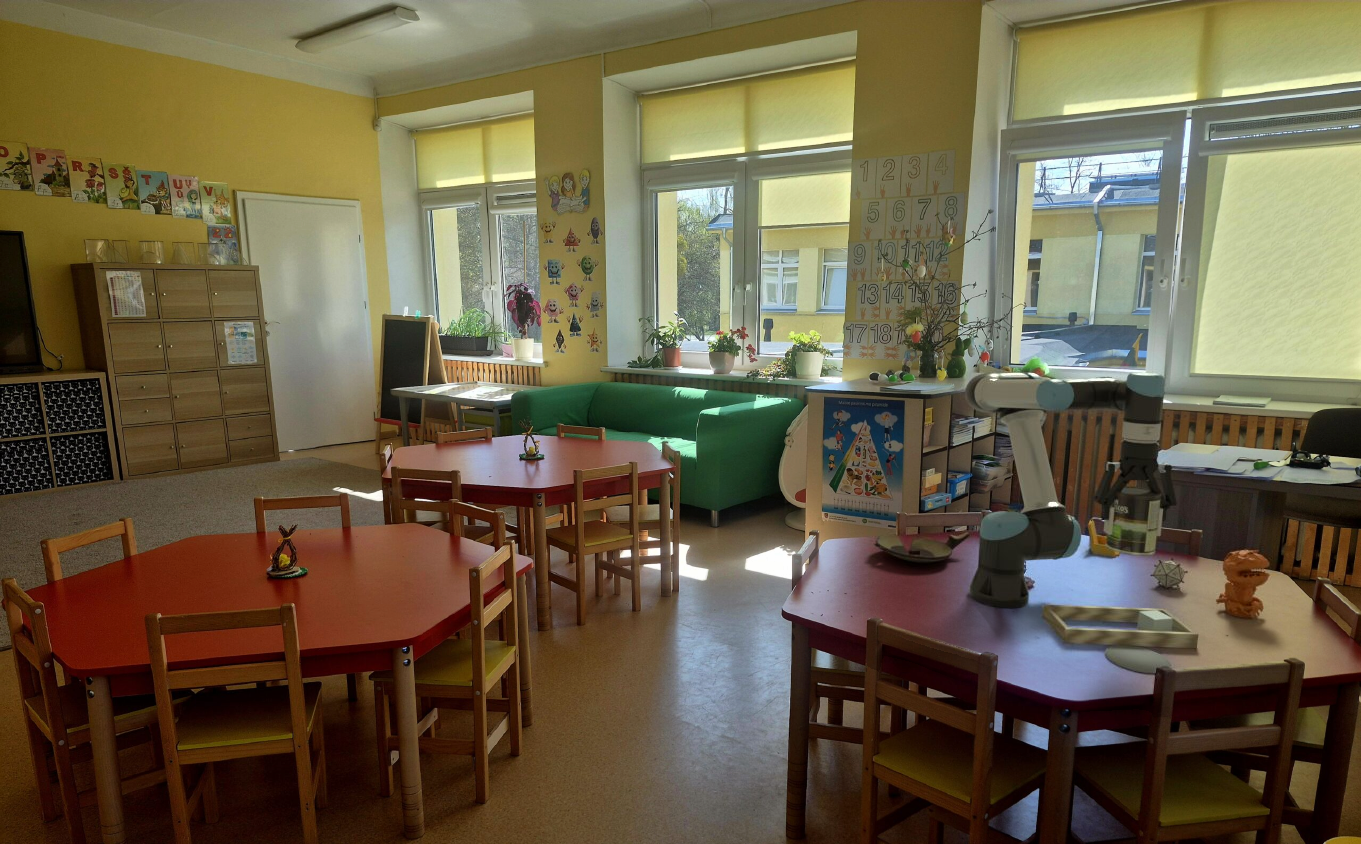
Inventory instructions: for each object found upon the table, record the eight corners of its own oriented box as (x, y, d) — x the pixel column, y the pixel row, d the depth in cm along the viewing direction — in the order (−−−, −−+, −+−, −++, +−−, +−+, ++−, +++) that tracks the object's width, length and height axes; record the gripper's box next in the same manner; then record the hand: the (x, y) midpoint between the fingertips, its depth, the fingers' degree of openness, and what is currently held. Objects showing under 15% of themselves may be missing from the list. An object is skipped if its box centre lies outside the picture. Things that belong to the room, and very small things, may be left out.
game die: (1174, 601, 221) (1197, 582, 214) (1144, 588, 222) (1166, 569, 215) (1171, 577, 227) (1193, 558, 220) (1142, 565, 228) (1163, 546, 221)
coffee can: (1123, 556, 177) (1128, 496, 175) (1096, 542, 187) (1101, 486, 185) (1166, 555, 178) (1172, 495, 176) (1137, 542, 188) (1142, 485, 186)
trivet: (1121, 672, 171) (1121, 670, 171) (1095, 645, 184) (1095, 643, 184) (1182, 674, 170) (1183, 672, 170) (1152, 648, 183) (1152, 646, 183)
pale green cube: (1152, 639, 188) (1154, 619, 187) (1137, 630, 193) (1139, 611, 192) (1170, 637, 189) (1172, 618, 188) (1154, 629, 194) (1157, 610, 193)
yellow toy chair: (1118, 558, 246) (1120, 530, 245) (1084, 552, 252) (1087, 525, 250) (1120, 549, 255) (1123, 522, 253) (1088, 544, 260) (1090, 517, 259)
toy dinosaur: (1251, 625, 196) (1260, 557, 193) (1205, 609, 206) (1213, 544, 203) (1274, 617, 201) (1284, 550, 198) (1229, 602, 211) (1237, 538, 208)
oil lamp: (870, 545, 257) (871, 523, 256) (965, 550, 252) (966, 528, 251) (875, 568, 236) (876, 544, 234) (979, 575, 231) (981, 550, 229)
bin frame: (1065, 642, 186) (1066, 629, 185) (1041, 617, 200) (1042, 604, 200) (1196, 648, 183) (1198, 634, 183) (1163, 621, 198) (1164, 608, 197)
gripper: (1096, 442, 176) (1088, 536, 180) (1201, 444, 174) (1191, 539, 177) (1082, 436, 184) (1075, 527, 187) (1183, 438, 181) (1174, 530, 185)
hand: (1131, 533), depth 182 cm, fingers closed on coffee can, 10 cm apart
